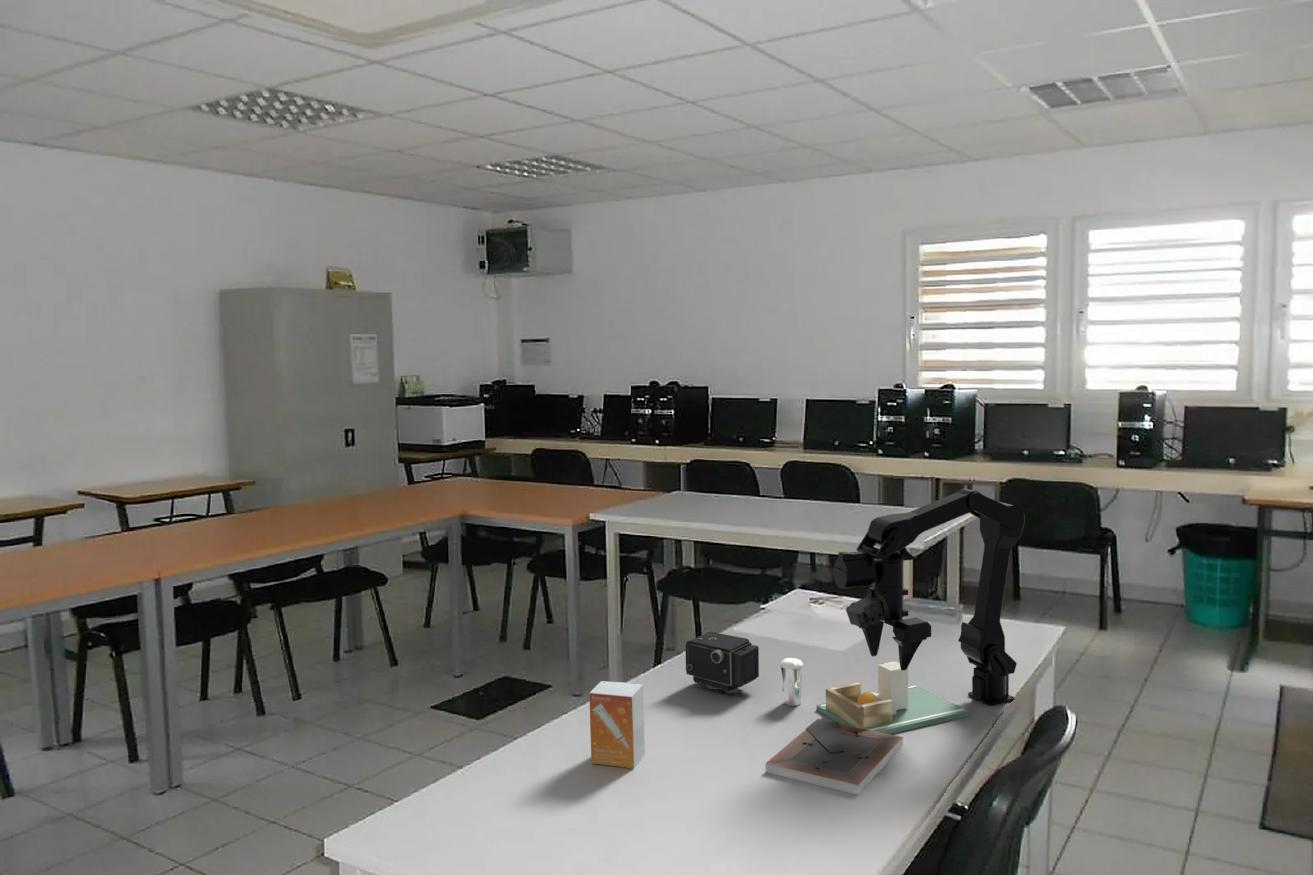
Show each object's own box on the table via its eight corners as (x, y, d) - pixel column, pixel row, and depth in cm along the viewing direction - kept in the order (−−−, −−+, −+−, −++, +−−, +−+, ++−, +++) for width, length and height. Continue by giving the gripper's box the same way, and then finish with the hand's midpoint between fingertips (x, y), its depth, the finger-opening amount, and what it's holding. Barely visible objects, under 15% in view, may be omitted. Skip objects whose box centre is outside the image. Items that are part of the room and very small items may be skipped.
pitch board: (915, 689, 196) (915, 684, 196) (969, 715, 181) (969, 710, 181) (816, 709, 186) (816, 704, 186) (865, 739, 172) (865, 733, 172)
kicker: (890, 698, 188) (890, 659, 187) (913, 710, 181) (912, 669, 181) (869, 702, 186) (869, 663, 185) (891, 715, 179) (891, 674, 179)
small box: (590, 764, 165) (588, 692, 164) (603, 749, 171) (601, 679, 170) (634, 769, 162) (632, 696, 161) (646, 754, 169) (643, 683, 167)
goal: (857, 702, 187) (857, 682, 187) (892, 721, 177) (892, 700, 177) (825, 708, 184) (825, 688, 184) (859, 729, 174) (859, 708, 174)
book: (817, 731, 178) (765, 776, 160) (817, 718, 178) (765, 762, 160) (903, 749, 169) (858, 799, 151) (903, 735, 169) (858, 784, 151)
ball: (853, 689, 182) (852, 710, 182) (866, 696, 179) (864, 717, 179) (871, 688, 184) (869, 709, 184) (883, 695, 180) (881, 716, 180)
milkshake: (807, 708, 187) (806, 659, 186) (780, 706, 188) (779, 658, 188) (808, 699, 192) (807, 651, 191) (781, 698, 193) (780, 650, 192)
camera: (682, 694, 200) (741, 702, 190) (676, 641, 199) (734, 647, 190) (711, 679, 208) (769, 686, 198) (705, 628, 207) (763, 633, 198)
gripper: (825, 578, 186) (826, 655, 188) (883, 600, 169) (883, 685, 171) (871, 571, 191) (872, 647, 192) (933, 592, 174) (933, 675, 175)
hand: (888, 662), depth 183 cm, fingers open, 9 cm apart
